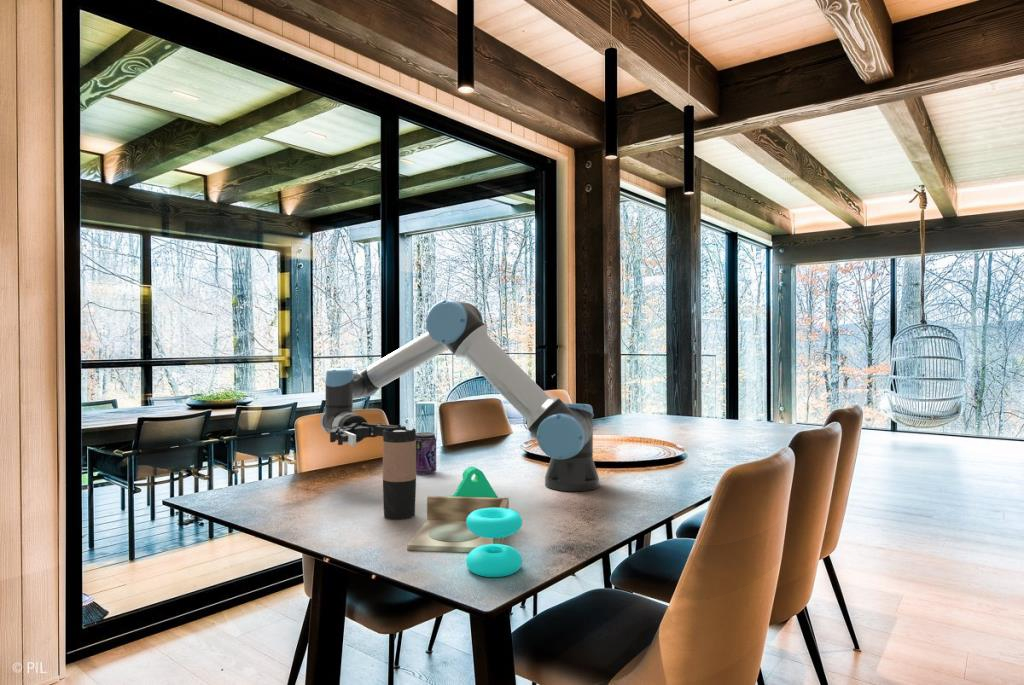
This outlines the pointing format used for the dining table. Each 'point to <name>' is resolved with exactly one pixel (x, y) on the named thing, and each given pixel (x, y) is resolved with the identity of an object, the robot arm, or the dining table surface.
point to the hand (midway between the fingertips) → (381, 438)
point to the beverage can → (425, 453)
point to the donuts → (494, 556)
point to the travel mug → (399, 473)
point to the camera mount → (474, 485)
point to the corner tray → (453, 524)
